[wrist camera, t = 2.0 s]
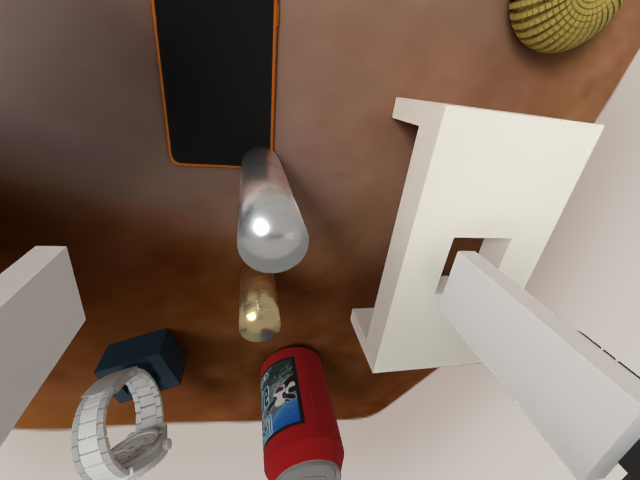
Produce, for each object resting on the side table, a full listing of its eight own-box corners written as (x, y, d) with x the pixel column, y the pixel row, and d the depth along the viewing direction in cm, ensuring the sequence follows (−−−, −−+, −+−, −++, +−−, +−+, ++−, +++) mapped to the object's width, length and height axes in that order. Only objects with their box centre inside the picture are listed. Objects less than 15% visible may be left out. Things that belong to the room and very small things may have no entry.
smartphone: (171, 163, 24) (169, 166, 23) (134, -162, 16) (129, -173, 15) (273, 168, 25) (274, 170, 24) (282, -125, 18) (283, -134, 17)
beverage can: (266, 339, 33) (275, 462, 22) (327, 343, 35) (361, 457, 24) (254, 384, 36) (257, 512, 25) (311, 385, 38) (335, 504, 27)
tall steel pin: (241, 183, 25) (236, 273, 14) (241, 144, 24) (237, 208, 12) (279, 184, 26) (305, 272, 14) (281, 147, 24) (312, 211, 13)
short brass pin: (240, 287, 29) (238, 343, 23) (240, 259, 28) (238, 311, 22) (272, 286, 30) (279, 340, 24) (274, 259, 29) (282, 309, 23)
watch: (140, 387, 32) (95, 517, 23) (97, 332, 28) (22, 462, 19) (194, 370, 33) (172, 492, 23) (159, 314, 29) (116, 432, 19)
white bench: (350, 319, 34) (372, 373, 28) (396, 97, 24) (446, 104, 18) (447, 315, 37) (487, 362, 31) (524, 113, 27) (604, 125, 21)
